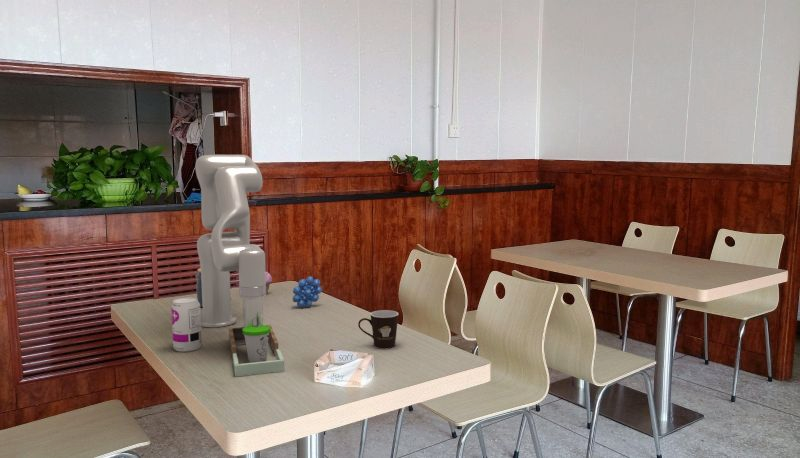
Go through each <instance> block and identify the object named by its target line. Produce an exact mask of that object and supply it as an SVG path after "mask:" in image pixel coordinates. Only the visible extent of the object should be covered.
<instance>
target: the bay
mask: <svg viewBox="0 0 800 458" xmlns="http://www.w3.org/2000/svg"><path fill="white" fill-rule="evenodd" d="M275 357H276V358H275V360H266V361H264V362H255V363H249V362H246V363H239V358H238V355H237V352H236V353H235V354H233V360H232V365H233V371H234V376H237V377H244V375H246V376H253V375H252V374H255V375H263V374H262V373H264V374H272V373H271V372H274V373H281V371H283V372H285V360H284V357H283V354H282V352H281V349H280V348H278V349H276V356H275Z"/></svg>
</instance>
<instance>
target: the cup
mask: <svg viewBox="0 0 800 458" xmlns="http://www.w3.org/2000/svg"><path fill="white" fill-rule="evenodd" d="M266 325H267V324H263V325H260V310H259V311H258V325H255V326H253V325H252V326H247V327H245V328H243V329H242V330H243V334H244V336H245V341H246V345H245V347H246V352H247V359H248V363H255V362H264V361H267V355H268V346H269V343H268V340H269V332H271V328H270V326H266Z"/></svg>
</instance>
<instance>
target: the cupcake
mask: <svg viewBox="0 0 800 458" xmlns="http://www.w3.org/2000/svg"><path fill="white" fill-rule="evenodd" d="M265 272H266V294H268V291H269V288H270V284H271V282H272V281H273V278H272V275H271V273H269V272H268V271H265Z"/></svg>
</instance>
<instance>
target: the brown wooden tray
mask: <svg viewBox="0 0 800 458" xmlns="http://www.w3.org/2000/svg"><path fill="white" fill-rule="evenodd" d="M265 325H266V326H270V328H271V332H269V339H268V344H270V346H271V349H272V352H273V355H274V357H276V349H279V342H278V339H277V336H276V334H275V332H274V330H273V329H274V328H273V327H272V325H271V324H265ZM243 328H244V326H242V327H240V326H239V327H229V328H228V338H229V339H228V341H229V347H230V352H231V359H232V361H233V354H235V353H237V347H238V346H246V341H245V336H244V334H243V330H242V329H243Z"/></svg>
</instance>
